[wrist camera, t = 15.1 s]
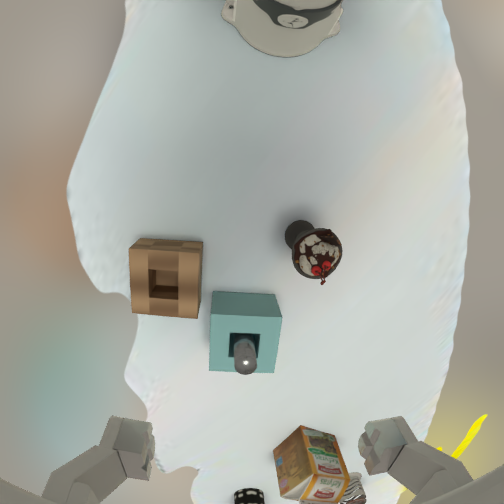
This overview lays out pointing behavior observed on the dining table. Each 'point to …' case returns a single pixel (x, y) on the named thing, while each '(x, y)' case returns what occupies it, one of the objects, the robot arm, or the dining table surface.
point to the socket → (166, 277)
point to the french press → (354, 481)
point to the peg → (244, 353)
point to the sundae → (313, 250)
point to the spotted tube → (249, 496)
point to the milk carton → (311, 467)
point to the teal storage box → (244, 328)
